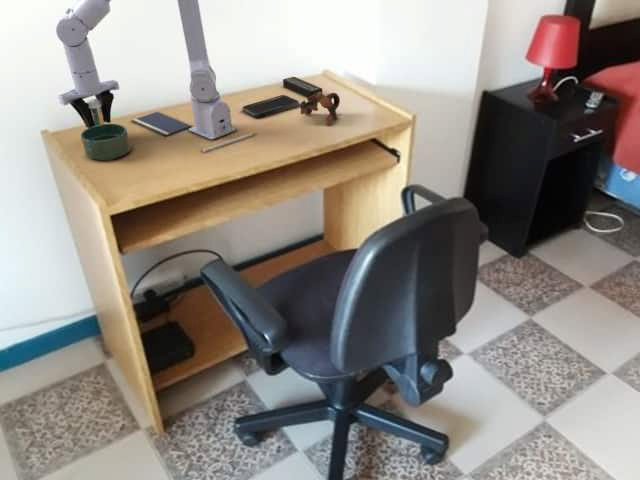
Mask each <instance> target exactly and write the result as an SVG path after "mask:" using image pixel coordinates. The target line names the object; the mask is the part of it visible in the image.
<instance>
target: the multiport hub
mask: <svg viewBox="0 0 640 480" xmlns="http://www.w3.org/2000/svg"><path fill="white" fill-rule="evenodd" d="M282 84H283V88H285V89H287V90H289V91H292V92H294V93H296V94H298V95H300V96H303V97H305V98H307V99H308V98H309V97H311V96H312V95H314V94H316V93H318V92H322V93H323V88H322V87H320V86H317V85H315V84H313V83H310V82H308V81H306V80H303V79H300V78H298V77H296V76H291V77H287V78H283V79H282Z"/></svg>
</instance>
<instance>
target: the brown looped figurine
mask: <svg viewBox="0 0 640 480" xmlns="http://www.w3.org/2000/svg"><path fill="white" fill-rule="evenodd" d="M332 100H333V101H332ZM340 102H341V99H340V96H339V94H338V93H336V92H331V93H329V94H327V95H324V94H323V91H322V92H318V93H316V94H314V95H312V96H311V97H309V98H307V101H306V100H303V101H302V102H301V103H300V104H299V106H298V107H299V108H300V115H305V116H310V115H311V114H312V112H313V111H314V112H317V111H319V108H318V104H320V105H321V107H322V108H324V109H327V110H328V112H329V114H328V115H327V116H326V117H325V119H324V120H325V121H326V124H327V125H328V126H330V125H332V124H334V123H335V122H336V121H337V120H338V116H337V109H338V107H339V106H340Z"/></svg>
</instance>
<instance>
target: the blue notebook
mask: <svg viewBox="0 0 640 480" xmlns="http://www.w3.org/2000/svg"><path fill="white" fill-rule="evenodd" d="M131 122H132V123H134V124H137V125H138V126H141V127H143V128H146V129H148V130H150V131H152V132H155V133H157V134H158V135H162V136H164V137H169V136H171V135H173V134H176V133H179V132H181V131H184V130H187V129H189V128H192V125H190V124H188V123H185V122H182V121H180V120H178V119H175V118H173V117H171V116H168V115H166V114H163V113H160V112H159V111H156V112H153V113H150V114H146V115H144V116H141V117H137V118H133V119H132V120H131Z"/></svg>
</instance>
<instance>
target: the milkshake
mask: <svg viewBox="0 0 640 480" xmlns="http://www.w3.org/2000/svg"><path fill="white" fill-rule="evenodd" d="M84 101H85V103H88V104H89V113H90V118H91V121H92V124H93V126H97V125H102V124H106V122H105V118H104V112H103V105H102V98H101V101H99V100H97V99H96V98H88V99H86V100H84Z"/></svg>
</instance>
